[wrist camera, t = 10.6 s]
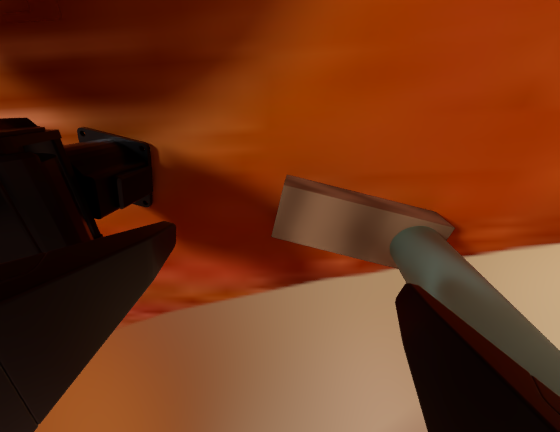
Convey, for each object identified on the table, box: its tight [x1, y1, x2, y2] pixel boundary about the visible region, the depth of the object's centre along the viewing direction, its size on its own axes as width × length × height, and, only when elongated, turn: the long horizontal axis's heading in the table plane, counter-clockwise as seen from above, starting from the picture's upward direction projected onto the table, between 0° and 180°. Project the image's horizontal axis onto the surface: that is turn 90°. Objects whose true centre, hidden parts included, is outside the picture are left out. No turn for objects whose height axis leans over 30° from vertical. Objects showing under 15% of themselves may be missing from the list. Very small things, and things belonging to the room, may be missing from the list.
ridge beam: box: [271, 175, 455, 269], centre depth 20 cm, size 14×5×3 cm, turn 77°
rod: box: [390, 226, 560, 396], centre depth 13 cm, size 4×4×13 cm
